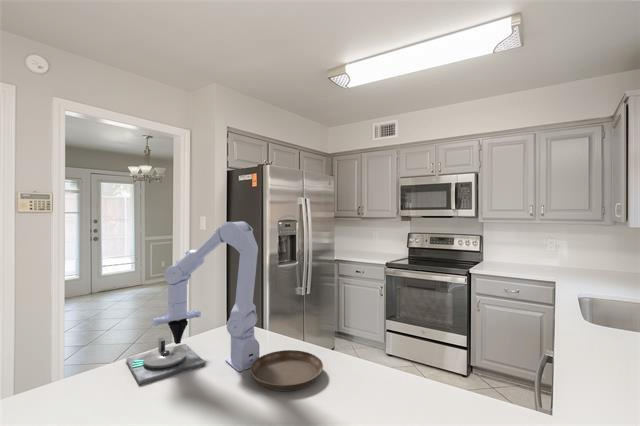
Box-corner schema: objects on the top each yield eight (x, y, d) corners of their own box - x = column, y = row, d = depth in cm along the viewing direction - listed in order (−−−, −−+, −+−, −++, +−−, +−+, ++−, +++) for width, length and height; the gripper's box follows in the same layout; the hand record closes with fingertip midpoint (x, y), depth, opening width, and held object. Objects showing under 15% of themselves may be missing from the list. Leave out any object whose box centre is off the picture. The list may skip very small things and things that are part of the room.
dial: (191, 360, 102) (191, 344, 102) (148, 372, 95) (148, 354, 95) (179, 348, 111) (179, 333, 111) (139, 358, 104) (139, 342, 104)
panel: (204, 365, 102) (205, 360, 102) (139, 385, 90) (139, 379, 90) (185, 347, 116) (185, 342, 116) (126, 362, 104) (126, 357, 104)
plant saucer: (314, 400, 84) (314, 387, 84) (238, 391, 88) (238, 378, 88) (328, 363, 104) (328, 353, 104) (266, 357, 108) (266, 347, 108)
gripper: (195, 295, 117) (195, 334, 117) (150, 302, 108) (150, 344, 108) (202, 299, 112) (202, 340, 112) (156, 307, 103) (156, 351, 103)
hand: (177, 342), depth 110 cm, fingers closed
